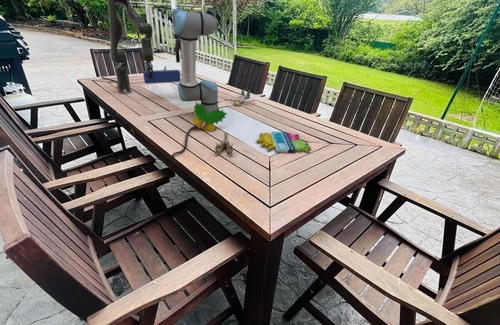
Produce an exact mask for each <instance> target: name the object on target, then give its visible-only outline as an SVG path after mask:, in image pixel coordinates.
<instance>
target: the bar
mask: <svg viewBox="0 0 500 325" xmlns="http://www.w3.org/2000/svg"><path fill="white" fill-rule="evenodd" d="M142 74H143V82H144V83H145V84H147V85H149V84H163V83H164V84H165V83H166V84H167V83H180V80H181V71H180V70H179V69H166V70H164V69H161V70H157V69H156V70H153V73H152V76H153V78H151V79H150V78H149V71H147V70H142Z"/></svg>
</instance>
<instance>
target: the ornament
mask: <svg viewBox="0 0 500 325" xmlns="http://www.w3.org/2000/svg"><path fill="white" fill-rule="evenodd" d="M219 110H220V108H219V109H217V110H216V111H214V110H212V112H211V113H208V112H206V109H204V106H201V103H198V101H195V105H194V106H193V112H194V113H195V118H192V119H191V122H192V123H193V125H194V126H195V125H196V127H197V128H198V129H202V130H203V131H206V132H212V131H213V132H214V131H215V130H216V126H215V124H218V123H219V122H223V119H226V115H227V114H228V113H227V112H224V110H223V109H221V110H220V111H219ZM207 113H208V115H207ZM214 123H215V124H214Z"/></svg>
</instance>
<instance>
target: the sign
mask: <svg viewBox="0 0 500 325" xmlns="http://www.w3.org/2000/svg"><path fill="white" fill-rule="evenodd" d="M299 136H300V135H299V134H298V133H296V134H294V133H291V132H287V131H270V132H264V133H263V132H260V133H259V139H258V138H257V139H256V143H257V144H261V148H263V147H264V148H265V149H267V151H268V152H271V151H272V150H273V149H275V152H276V153H283V154H285V153H287V154H288V153H290V154H293V153H296V152H298V153H301V152H305V153H310V151H311V150H312V149H311V148H312V146H309V142H304V141H303V139H302V138H299Z"/></svg>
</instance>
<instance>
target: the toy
mask: <svg viewBox="0 0 500 325" xmlns="http://www.w3.org/2000/svg"><path fill="white" fill-rule="evenodd" d="M240 92H241V93H240V95H238V96H237V97H235V99H233V98H230V99H228V98H227V97H226V96H225V97H224V98H223V101H224V102H233V103H232V104H233V105H235V106H242V103H243V104H247V105H252V106H255V105H256V104H257V103H256V102H254V101H253V100H252V101H251V102H250V101H248V100H246V99H248V98H250V97H251V90H250V89H249V90H248V91H247V92H246V93H245V91H244V89H242V90H241V91H240Z"/></svg>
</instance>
